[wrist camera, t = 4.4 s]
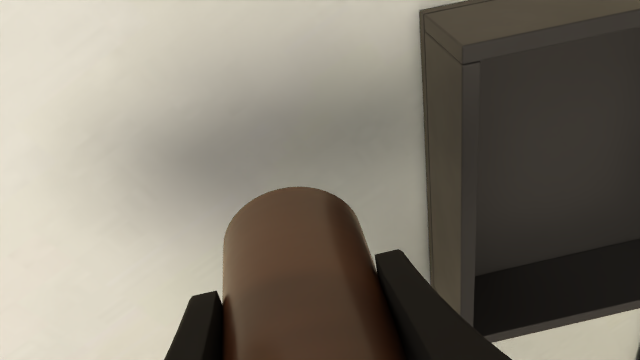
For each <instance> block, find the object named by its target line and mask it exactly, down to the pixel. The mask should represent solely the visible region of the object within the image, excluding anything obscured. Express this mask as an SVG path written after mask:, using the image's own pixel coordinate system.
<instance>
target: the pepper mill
mask: <svg viewBox="0 0 640 360" xmlns="http://www.w3.org/2000/svg"><path fill="white" fill-rule="evenodd" d="M222 360H408V359H407V356H406V353H405V350H404V347H403V345H402V342H401V339H400V336H399V333H398V330H397V328H396V325H395V322H394V319H393V316H392V314H391V311H390V308H389V305H388V303H387V300H386V297H385V294H384V291H383V288H382V286H381V283H380V280H379V277H378V274H377V271H376V268H375V265H374V263H373V260H372V257H371V254H370V251H369V248H368V246H367V243H366V240H365V237H364V234H363V231H362V229H361V226H360V223H359V221H358V218H357V216H356V215H355V213H354V211H353V210H352V209H351V208H350V207H349V205H348V204H346V203H345V202H344V201H343V200H341V199H340V198H338V197H337V196H335V195H333V194H331V193H329V192H326V191H323V190H320V189H316V188H310V187H288V188H282V189H277V190H274V191H270V192H268V193H265V194H263V195H261V196H259V197H257V198H255V199H253V200H252V201H250V202H249V203H247V204H246V205H245V206H244V207H243V208H242V209H240V210H239V212H238V213H237V214H236V215H235V216H234V217H233V219H232V221H231V222H230V224H229V226H228V228H227V230H226V233H225V237H224V245H223V303H222Z"/></svg>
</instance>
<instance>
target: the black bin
mask: <svg viewBox="0 0 640 360" xmlns="http://www.w3.org/2000/svg"><path fill="white" fill-rule="evenodd" d="M420 34H421V58H422V82H423V106H424V129H425V153H426V177H427V201H428V225H429V249H430V273H431V286H432V288H433V289H434V290H435V291H436V292H437V293H438V294H439V295H440V296H441V297H442V298H443V299H444V300H445V301H446V302H447V303H448V304H449V305H450V306H451V307H452V308H453V309H454V310H455V311H456V312H457V313H458V314H459V315H460V316H461V317H462V318H463V319H464V320H465V321H467V322H468V323H469V324H470V325H471V326H472V327H473V328H474V329H475V330H477V331H478V332H479V333H480V334H481V335H482V336H483V337H485V338H486V339H487V340H488V341H489V342H490V343H492V342H497V341H501V340H505V339H509V338H514V337H518V336H522V335H527V334H531V333H535V332H539V331H544V330H548V329H552V328H557V327H561V326H565V325H569V324H574V323H578V322H582V321H587V320H591V319H595V318H599V317H604V316H608V315H612V314H617V313H621V312H625V311H629V310H634V309H638V308H640V0H469V1H464V2H459V3H455V4H450V5H445V6H440V7H435V8H430V9H425V10H421V11H420Z"/></svg>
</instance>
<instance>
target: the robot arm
mask: <svg viewBox="0 0 640 360" xmlns="http://www.w3.org/2000/svg"><path fill="white" fill-rule="evenodd" d="M375 260H376V268H377V274H378V277H379V280H380V283H381V286H382V288H383V291H384V294H385V297H386V300H387V303H388V305H389V308H390V311H391V314H392V316H393V319H394V322H395V325H396V328H397V330H398V333H399V336H400V339H401V342H402V345H403V347H404V350H405V353H406V356H407V359H408V360H512V359H510V358H509V357H508V356H507V355H505V354H504V353H503V352H501V351H500V350H499V349H498V348H496V347H495V346H494V345H493V344H492V343H490V342H489V341H488V340H487V339H486V338H485V337H483V336H482V335H481V334H480V333H479V332H478V331H477V330H475V329H474V328H473V327H472V326H471V325H470V324H469V323H468V322H467V321H465V320H464V319H463V318H462V317H461V316H460V315H459V314H458V313H457V312H456V311H455V310H454V309H453V308H452V307H451V306H450V305H449V304H448V303H447V302H446V301H445V300H444V299H443V298H442V297H441V296H440V295H439V294H438V293H437V292H436V291H435V290H434V289H433V288H432V286H431V285H430V284H429V283H428V282H427V281H426V280H425V279H424V278H423V276H422V275H421V274H420V273H419V272H418V271H417V269H416V268H415V267H414V266H413V265H412V263H411V262H410V261H409V259H408V258H407V257H406V255H405V254H404V253H403V252H402V251H401V250H399V249H398V250H393V251H389V252H384V253H380V254H376V255H375ZM164 360H222V303H221V300H220V298H219V295H218V293H217V291H213V292H208V293H204V294H200V295H195V296H192V297H191V299H190V300H189V303H188V305H187V308H186V310H185V313H184V315H183V318H182V320H181V323H180V325H179V328H178V330H177V332H176V335H175V337H174V339H173V342H172V344H171V346H170V348H169V351H168V353H167V355H166V357H165V359H164Z"/></svg>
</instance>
